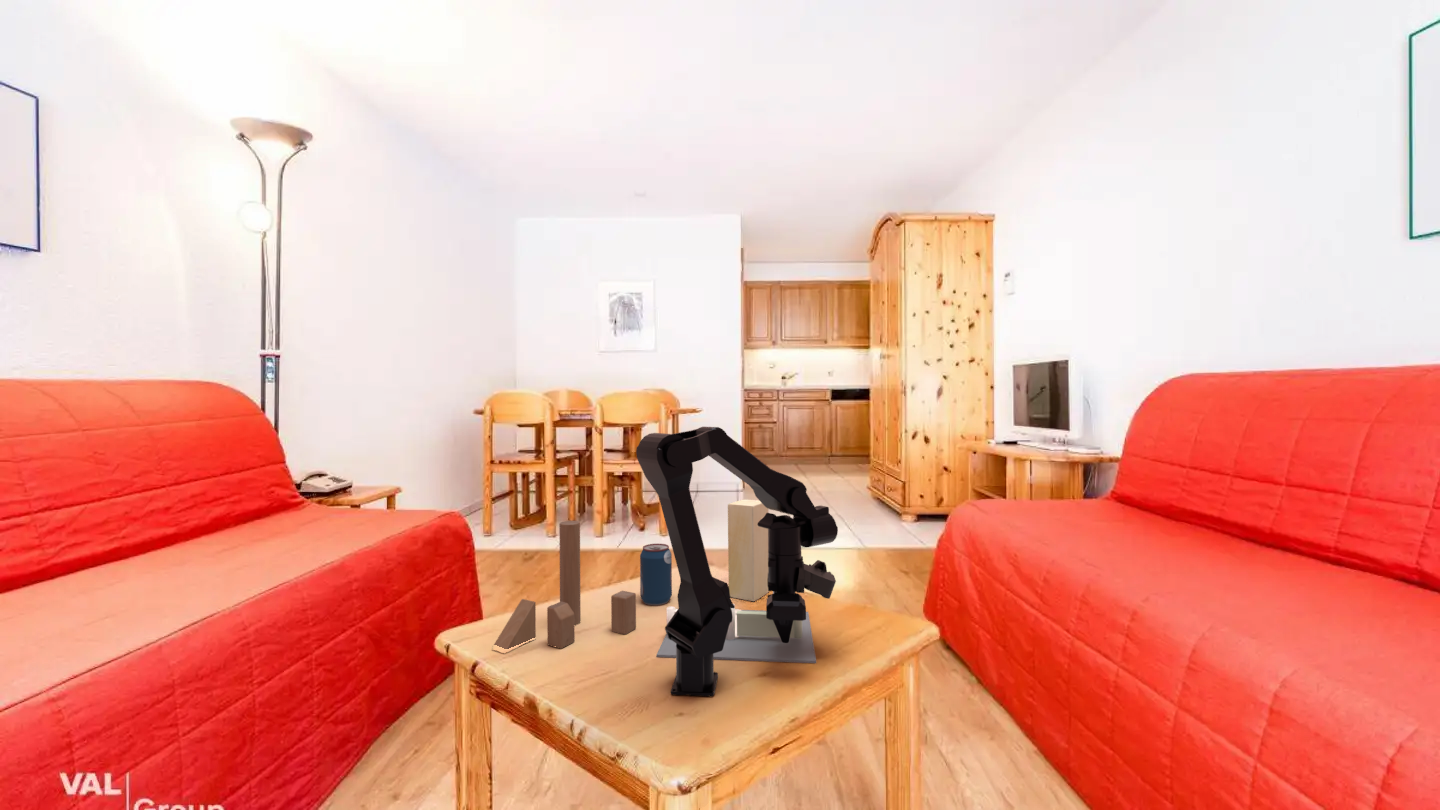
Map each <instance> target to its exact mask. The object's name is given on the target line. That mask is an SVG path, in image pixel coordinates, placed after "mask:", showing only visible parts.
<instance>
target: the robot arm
mask: <svg viewBox="0 0 1440 810" xmlns="http://www.w3.org/2000/svg"><path fill="white" fill-rule="evenodd" d="M635 454H636V459H637V462H638V464H639V466H640V468H641V471H642V473H643V474H644V476H645V478H646V480H647V481H648V482H649V484H650V486H651V487H652V488H653V490H654V491H655V493H657V495H658V500H659V503H660V507H661V511H662V514H663V518H664V523H665V526H666V528H667V533H668V537H669V541H670V544H671V548H672V552H673V555H674V559H675V563H676V567H677V570H678V575H679V577H680V584H679V587H678V592H677V595H676V596H677V597H676V598H677V605H678V606H677V607H678V608H677V609H678V610H677V611H676V613H675V614H674V616H673V617H672V618H671V620H670V621H669V623H668V624H667V623H666V625H665V627H664V631H665V633H666V634H667V636H668V639H670V640H672V641H674V642H675V643H677V644H676V658H675V664H676V665H675V666H676V667H675V671H676V673H675V674H676V675H675V677H674V680H673V682H672V686H671V688H670V695H676V696H679V695H680V696H696V697H697V696H699V697H700V696H701V697H714V695H715V692H716V689H717V685H718V684H717V682H718V679H719V672H716V671H714V659H713V653H717V652H720V651H722V650H723V647H724V643H725V639H726V635H727V632H728V628H729V625H730V623H731V622H732V617H733V616H732V610H731V608H734V607H736V605H735V606H734V605H733V604H734V603H733V602H732V600H731V597H730V591H729V583H728V582H725V581H722V580H720V579H718V578H716V577H715V576H713V575H712V571H711V568H710V564H709V561H708V556H707V553H706V550H705V545H704V541H703V537H702V534H701V530H700V529H701V528H700V526H699V522H698V517H697V514H696V510H695V507H694V503H693V498H692V495H691V490H690V488H691V487H690V486H691V481H692V477H693V472H694V467H693V463H695V462H699V461H701V460H704V459H705V458H708V457H710V458H711V459H712V460H714V461H716V462H717V463H718V464H720V465H721V466H722V467H724V468H725V469H726V470H728V472H730V473H732V474H733V475H734V476H736V477H738V478H739V480H741V481H742V482H744V483H745V484H746V485H748V486H749V487H750V488H751V489H752V492H753V493H754V496H755V497H756V498H757V499H758V500H759V501H760V502H761V503H762V504H763V505H764V506H765V507H766V508H768V510H771V511H776V512H779V513H783V515H776V513H775V514H774V513H770V512H768V513H766V515H765V516H764V517H763V518H762V519H761V520H760V521H759V522H758V524H757V525H758V526H759V527H763V528H766V529H768V578H767V582H768V591H769V592H772V593H770V594H767V598H766V610H765V611H766V618H767V619H769V620H773V622H774V624H775V626H776V629H777V631H778V633H779V636H780V638H781V641H782V642H783V643H788V642H789V639H790V634H791V629H792V624H793V620H796V621H803V620H806V612H807V605H806V600H805V599H804V598H803V596H802V595H801V594H805V590H807V591H809V592H812V593H815V594H818V595H820V596H821V597H822V598H824V599H827V600H828V599H829V600H830V598H831V596H832V594H833V591H834V587H835V585H836V582H837V581H836V578H835V575H834V574H833V573H832V572H831V571H828V570H827V564H826V562H825V561H822V560H819V559H817V560H816V561H815V562H813V564H810V563H809V564H806V563H805V562H804V558H803V556H802V547H803V548H811V547H816V546H822V545H826V544H831V543H833V542H834V541H835V540H836V539H837V537H838V532H839V531H838V530H839V529H838V525H837V522H836V520H835V518H834V517H833V515H831V514H830V509H829V508H830V507H829V506H826V505H817V506H815V505H814V504H813V502H812V500H811V498H810V496H809V495H808V493H807V491H808V490H807V489H808V488H807V487H806V485H805V484H804V482H802V481H801V480H799V479H796V478H794V477H792V476H790V475H787V474H784V473H781V472H779V471H777V470H774V469H773V468H771V467H769V466H768V465H767V464H765V463H764V461H761V459H758V457H757V456H755V455H754V454H753V453H751V452H750V451H749V450H747V449H746V448H744V446H742V445H741V444H740V443H739V442H737V441H736V440H735V439H733V438H731V437H730V436H729V435H728V433H727V432H726V431H725V430H724V429H723V428H721V427H719V426H700V427H698V428H696V429H691V430H687V431H681V432H677V433H664V432H662V433H659V432H651V433H648V434H646V435H644V436H643V437H642V438H641V439H640V441H639V444H638V445H637V446H636V450H635ZM786 514H787V515H786ZM789 515H790V516H789ZM791 516H793V517H791ZM666 634H665V635H666Z"/></svg>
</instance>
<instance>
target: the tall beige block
mask: <svg viewBox="0 0 1440 810" xmlns="http://www.w3.org/2000/svg"><path fill="white" fill-rule="evenodd" d="M766 513H769V509H768V508H766V507H765V506H764V505H763V504H762V503H761V502H760V500H759V499H758V500H756V499H740V500H735V501H734V502H731V503H728V504H727V551H728V553H727V554H728V555H727V557H728V560H727V561H728V587H729V591H730V598H734V599H739V600H744V601H748V602H749V601H750V602H756V601H758V600H759V599H760V598H762V597H764V596H765V595H768V593H769V592H770V591H768V582H767V578H768V529H766V528H763V527H759V526H758V525H757V524H758V522H759V521H760V520H761V519H762V518H763V517H764V516H765V515H766Z"/></svg>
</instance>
